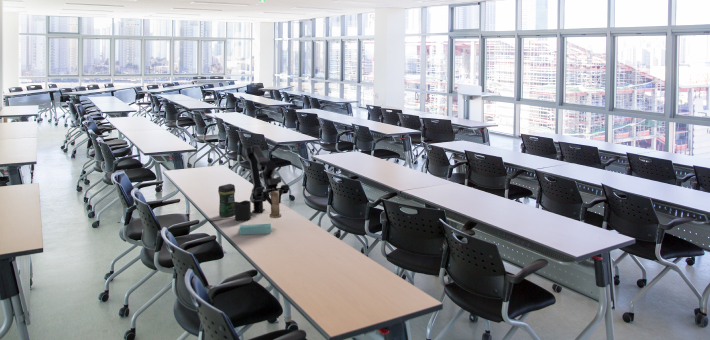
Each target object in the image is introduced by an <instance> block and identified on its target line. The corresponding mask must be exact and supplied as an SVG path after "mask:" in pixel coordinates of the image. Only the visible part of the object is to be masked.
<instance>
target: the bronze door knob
mask: <svg viewBox="0 0 710 340" xmlns="http://www.w3.org/2000/svg"><path fill="white" fill-rule="evenodd" d="M269 196H270V199H271V202H272V205H271V204H270V214H269V218H270V219H279V218H281V217H282V213H280V211H281V210H280V204H279V191H271V192H270V193H269Z"/></svg>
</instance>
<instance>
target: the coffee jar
mask: <svg viewBox="0 0 710 340" xmlns="http://www.w3.org/2000/svg"><path fill="white" fill-rule="evenodd" d="M217 191H218V195H219V208H218V214H219V216H220V217H222V218H224V217H225V218H229V217H232V216H235V211H234V202H236V201H235V200H236V199H235V194H236V186H235V184H232V183H226V184H223V185H219V186H218V190H217Z"/></svg>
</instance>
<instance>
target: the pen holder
mask: <svg viewBox="0 0 710 340" xmlns="http://www.w3.org/2000/svg"><path fill="white" fill-rule="evenodd" d="M251 204H252V202H250V200H242V201H235V202H234V211H235V215H234V219H235V220H236V221H237V222H246V221H249V220H251V218H252V217H251V216H252V215H251V214H252V211H251V209H252V207H251V206H252V205H251Z"/></svg>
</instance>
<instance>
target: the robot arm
mask: <svg viewBox="0 0 710 340" xmlns="http://www.w3.org/2000/svg"><path fill="white" fill-rule="evenodd" d="M244 156H245V159H246V161H247V162H249V165H250V173H251V178H252V179H251V180H252V185H253V187H252V189H251V192H250V193H251V194H250V198H249V201H250V202H251V204H252V205H253V209H252V211H251V213H262V214H263V213H264V212H265V210H266V209H265V208H264V202H268V204H269V205H270V206H271V205H272V202H271V195H270V192H271V191H279V205H280V204H281V201H282V195H286V194H288V193H289V190H290V185H289V184H282V185H280V187H278V186H279V184H280V183H281V182H282V177H281V176H277V177H274V174H275V171H276V170H277V169H276V168H277V164H276V162H275V161H272V159H269V158H268V157H266V156H265V154H264V153H263V151H262V149H261V146H260V145H251V146H250V147H247V148H245V150H244ZM260 172H262V173H261V175H260ZM261 176H262V179H263V185H264V186H263V185H262V182H261Z"/></svg>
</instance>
